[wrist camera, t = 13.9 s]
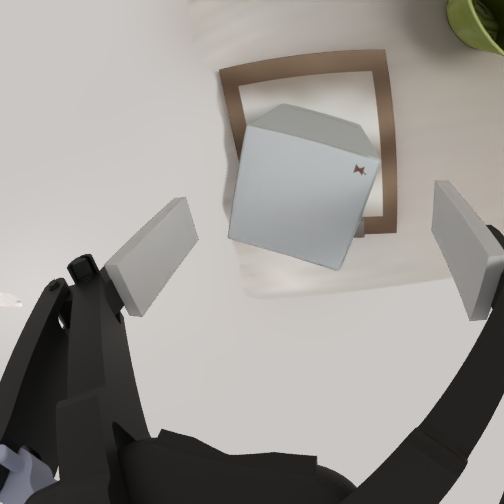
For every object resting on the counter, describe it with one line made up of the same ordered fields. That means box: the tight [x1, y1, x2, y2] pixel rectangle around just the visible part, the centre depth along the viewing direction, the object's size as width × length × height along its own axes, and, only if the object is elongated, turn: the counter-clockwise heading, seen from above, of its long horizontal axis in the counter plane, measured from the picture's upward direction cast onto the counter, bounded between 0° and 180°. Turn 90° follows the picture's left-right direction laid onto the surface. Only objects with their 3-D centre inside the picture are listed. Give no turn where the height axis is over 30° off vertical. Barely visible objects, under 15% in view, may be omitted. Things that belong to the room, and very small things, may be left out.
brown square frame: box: [219, 50, 397, 238], centre depth 27 cm, size 18×15×2 cm
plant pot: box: [446, 0, 504, 56], centre depth 12 cm, size 9×9×9 cm
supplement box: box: [228, 103, 381, 270], centre depth 21 cm, size 7×7×13 cm
